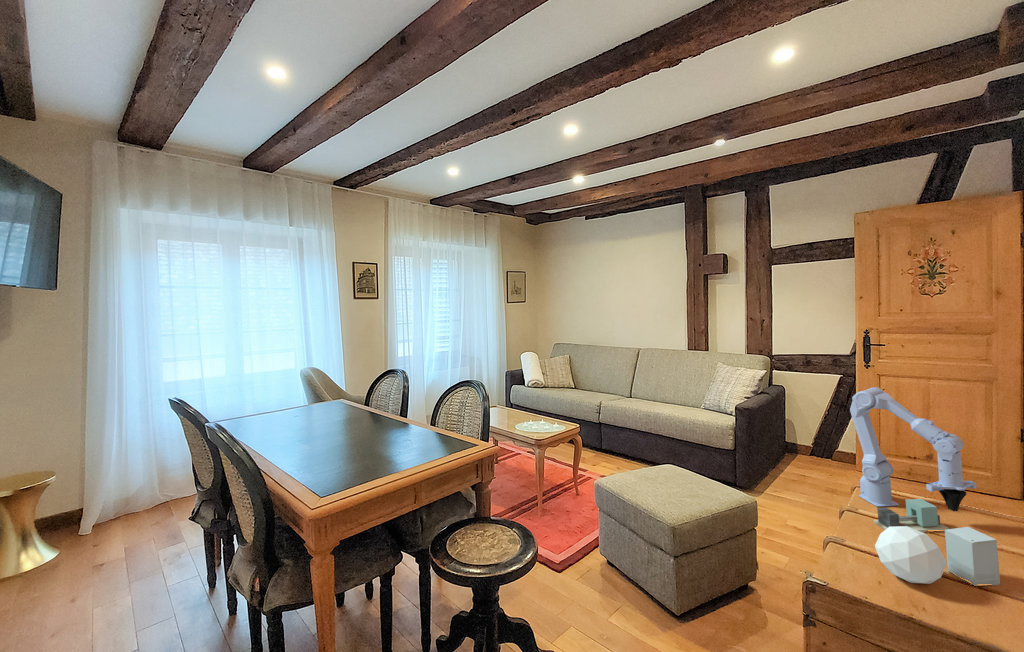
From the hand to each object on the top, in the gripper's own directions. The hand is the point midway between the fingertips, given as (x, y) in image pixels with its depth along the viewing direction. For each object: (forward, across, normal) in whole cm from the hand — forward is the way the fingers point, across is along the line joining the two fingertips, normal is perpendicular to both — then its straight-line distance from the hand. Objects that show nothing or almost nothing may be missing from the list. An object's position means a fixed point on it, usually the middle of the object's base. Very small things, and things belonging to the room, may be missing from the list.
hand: (952, 509), depth 143 cm
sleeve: (+3, -10, 0) cm, 11 cm away
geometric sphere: (+5, -36, -26) cm, 44 cm away
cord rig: (+5, -14, 0) cm, 15 cm away
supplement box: (+5, -20, -27) cm, 34 cm away
